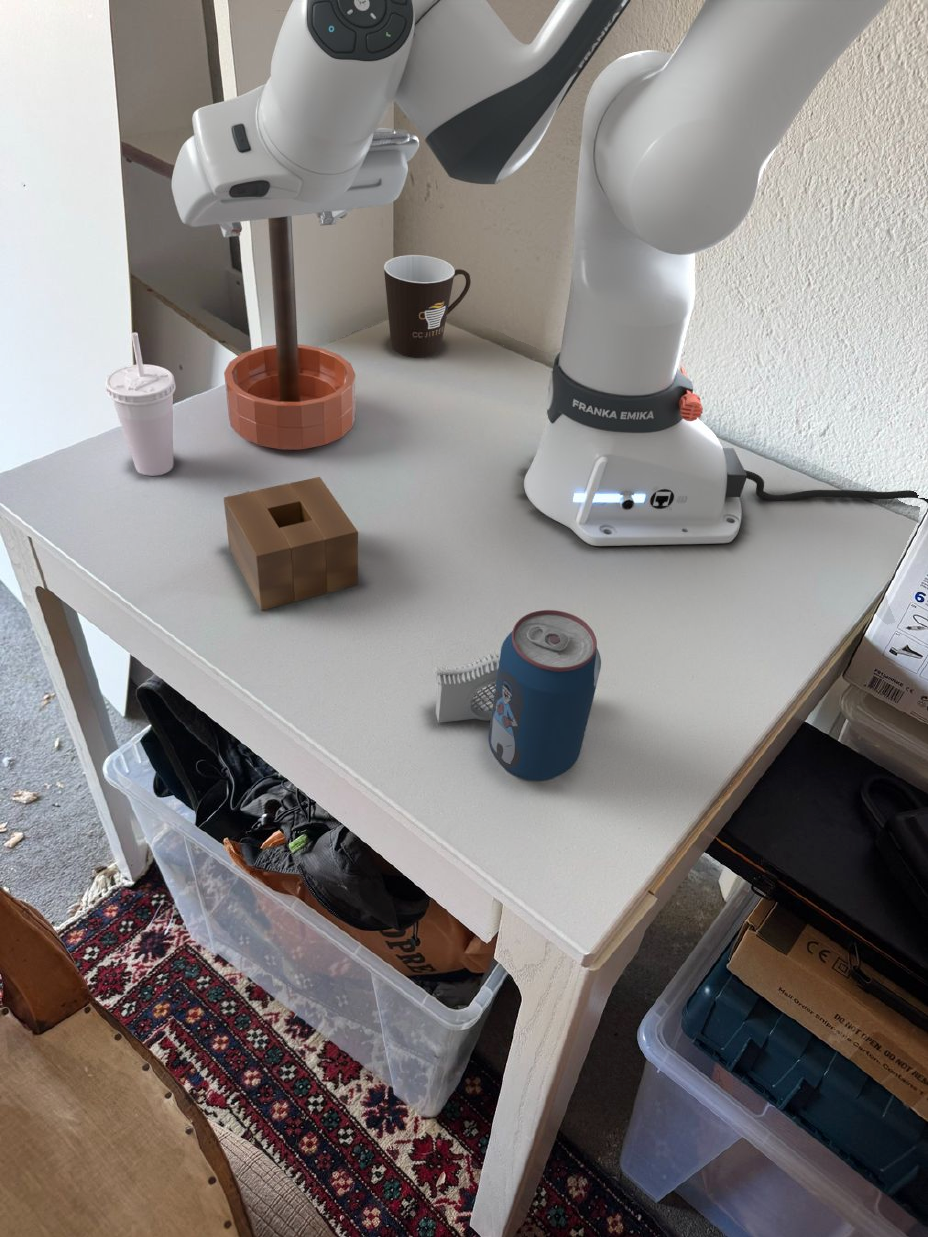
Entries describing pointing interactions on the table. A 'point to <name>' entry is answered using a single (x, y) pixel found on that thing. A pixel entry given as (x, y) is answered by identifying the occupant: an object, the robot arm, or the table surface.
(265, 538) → the stand
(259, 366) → the bowl
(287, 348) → the stick
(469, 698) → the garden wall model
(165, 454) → the smoothie
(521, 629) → the soda can
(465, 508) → the table surface
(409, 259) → the coffee mug
